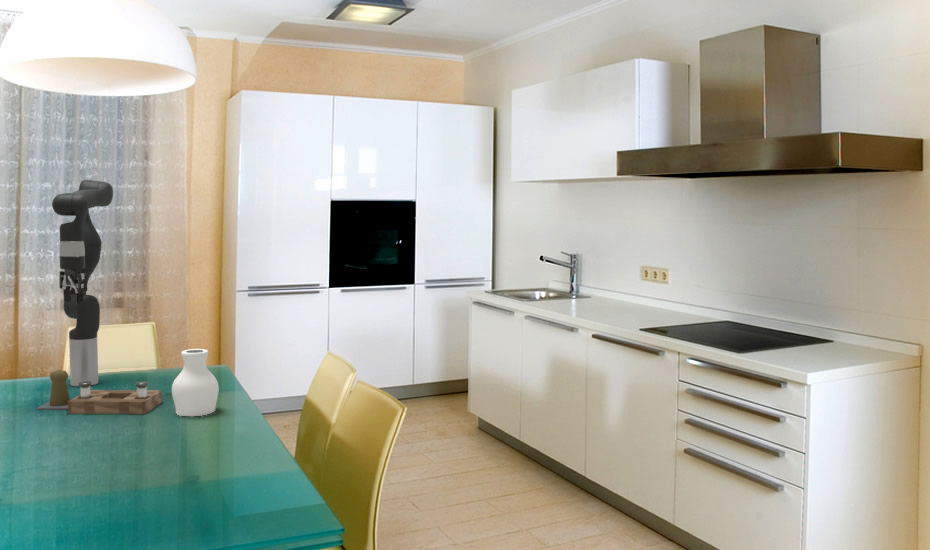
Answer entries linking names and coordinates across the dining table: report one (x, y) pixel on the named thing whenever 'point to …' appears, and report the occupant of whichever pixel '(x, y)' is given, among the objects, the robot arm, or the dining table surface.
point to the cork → (59, 388)
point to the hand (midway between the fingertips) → (73, 303)
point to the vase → (195, 385)
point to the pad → (52, 407)
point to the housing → (115, 402)
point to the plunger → (85, 389)
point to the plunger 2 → (141, 390)
